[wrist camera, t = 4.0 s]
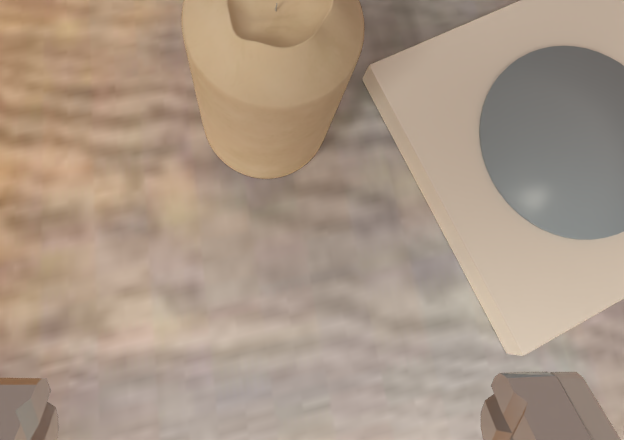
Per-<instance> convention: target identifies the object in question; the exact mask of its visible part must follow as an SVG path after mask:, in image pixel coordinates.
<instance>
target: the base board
mask: <svg viewBox="0 0 624 440" xmlns="http://www.w3.org/2000/svg"><path fill="white" fill-rule="evenodd" d="M362 80H363V82H364V84H365V86H366V88H367V90H368V92H369V94H370V95H371V97H372V99H373V101H374V103H375V105H376V107H377V109H378V111H379V113H380V114H381V116H382V118H383V120H384V122H385V124H386V126H387V128H388V130H389V131H390V133H391V135H392V137H393V139H394V141H395V143H396V145H397V147H398V149H399V150H400V152H401V154H402V156H403V158H404V160H405V162H406V164H407V166H408V167H409V169H410V171H411V173H412V175H413V177H414V179H415V181H416V183H417V185H418V186H419V188H420V190H421V192H422V194H423V196H424V198H425V200H426V202H427V204H428V205H429V207H430V209H431V211H432V213H433V215H434V217H435V219H436V221H437V222H438V224H439V226H440V228H441V230H442V232H443V234H444V236H445V238H446V240H447V241H448V243H449V245H450V247H451V249H452V251H453V253H454V255H455V257H456V259H457V260H458V262H459V264H460V266H461V268H462V270H463V272H464V274H465V276H466V277H467V279H468V281H469V283H470V285H471V287H472V289H473V291H474V293H475V295H476V296H477V298H478V300H479V302H480V304H481V306H482V308H483V310H484V312H485V313H486V315H487V317H488V319H489V321H490V323H491V325H492V327H493V329H494V331H495V332H496V334H497V336H498V338H499V340H500V342H501V344H502V346H503V348H504V350H505V351H506V353H507V354H513V355H521V356H524V355H526V354H528V353H529V352H531V351H533V350H535V349H536V348H538V347H540V346H542V345H543V344H545V343H547V342H549V341H550V340H552V339H554V338H556V337H557V336H559V335H561V334H563V333H564V332H566V331H568V330H570V329H571V328H573V327H575V326H577V325H578V324H580V323H582V322H584V321H585V320H587V319H589V318H591V317H592V316H594V315H596V314H598V313H599V312H601V311H603V310H605V309H606V308H608V307H610V306H612V305H613V304H615V303H617V302H619V301H620V300H622V299H624V0H520V1H518V2H515V3H513V4H511V5H508V6H506V7H504V8H501V9H499V10H496V11H494V12H492V13H489V14H487V15H485V16H482V17H480V18H478V19H475V20H473V21H471V22H468V23H466V24H464V25H461V26H459V27H457V28H454V29H452V30H450V31H447V32H445V33H443V34H440V35H438V36H436V37H433V38H431V39H429V40H426V41H424V42H422V43H419V44H417V45H415V46H412V47H410V48H408V49H405V50H403V51H401V52H398V53H396V54H394V55H391V56H389V57H387V58H384V59H382V60H379V61H377V62H375V63H372V64H370V65H369V66H368V68H367V70H366V72H365V74H364V76H363V79H362Z"/></svg>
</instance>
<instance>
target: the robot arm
mask: <svg viewBox="0 0 624 440" xmlns="http://www.w3.org/2000/svg"><path fill="white" fill-rule="evenodd" d="M491 387H492V389H493V392H494V395H492V396H491V397H489V398H488V399H487V400H485V402H484V405H483V407H482V410H481V431H482V436H483V440H621V439H620V438H619V436H618V434H617V433H616V431H615V429H614V428H613V426H612V424H611V423H610V421H609V420H608V418H607V416H606V415H605V413H604V411H603V410H602V408H601V406H600V405H599V403H598V401H597V400H596V398H595V397H594V395H593V393H592V392H591V390H590V388H589V387H588V385H587V383H586V382H585V380H584V378H583V377H582V376H581V375H579V374H578V373H577V372H551V373H548V372H519V373H499V374H498V375H497V376H495V378H494V380H493V382H492V384H491ZM50 393H51V389H50V387H49V384H48V381H47V379H42V378H0V440H57V438H58V431H59V423H58V414H57V410H56V407H54V406H53V405H52V404H50V403H49V402H47V401H48V398H49V395H50Z"/></svg>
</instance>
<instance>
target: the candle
mask: <svg viewBox="0 0 624 440" xmlns="http://www.w3.org/2000/svg"><path fill="white" fill-rule="evenodd" d="M181 21H182V33H183V39H184V43H185V48H186V52H187V57H188V61H189V66H190V70H191V75H192V79H193V83H194V88H195V92H196V97H197V101H198V106H199V110H200V114H201V119H202V123H203V127H204V130H205V134H206V137H207V139H208V142H209V144H210V146H211V147H212V149H213V151H214V152H215V153H216V154H217V156H218V157H219V158H220V159H221V160H222V161H223V162H224V163H225V164H226V165H228V166H229V167H230V168H232V169H233V170H235V171H237V172H239V173H241V174H244V175H246V176H250V177H254V178H261V179H272V178H279V177H283V176H286V175H289V174H291V173H293V172H295V171H297V170H299V169H300V168H302V167H303V166H304V165H306V164H307V163H308V162H309V161H310V160H311V159H312V158H313V157H314V156H315V154H316V153H317V151H318V150H319V148H320V146H321V144H322V142H323V140H324V138H325V136H326V134H327V131H328V129H329V127H330V124H331V122H332V120H333V117H334V115H335V113H336V110H337V108H338V106H339V103H340V101H341V99H342V96H343V94H344V92H345V89H346V87H347V85H348V82H349V80H350V78H351V75H352V73H353V71H354V68H355V66H356V64H357V61H358V59H359V56H360V53H361V50H362V46H363V41H364V30H365V29H364V17H363V12H362V8H361V5H360V2H359V0H184V2H183V8H182V15H181Z"/></svg>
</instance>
